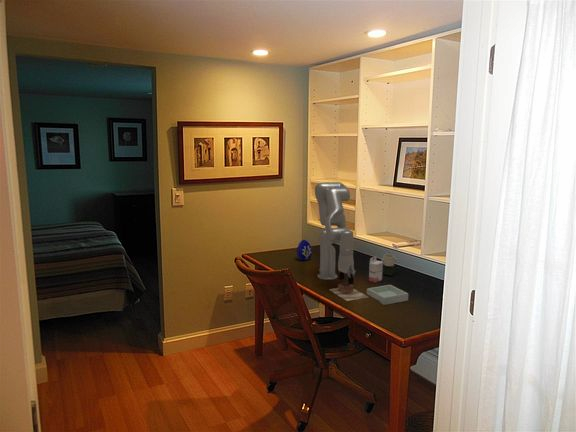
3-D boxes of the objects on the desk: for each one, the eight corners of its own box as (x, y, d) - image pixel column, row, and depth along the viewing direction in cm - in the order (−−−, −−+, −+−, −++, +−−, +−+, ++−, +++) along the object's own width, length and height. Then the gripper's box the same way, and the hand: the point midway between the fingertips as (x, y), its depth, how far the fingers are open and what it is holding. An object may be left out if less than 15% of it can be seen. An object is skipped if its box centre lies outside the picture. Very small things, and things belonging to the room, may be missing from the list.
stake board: (328, 291, 261) (328, 280, 260) (349, 287, 266) (349, 277, 265) (346, 302, 243) (347, 291, 242) (368, 298, 248) (369, 287, 247)
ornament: (300, 262, 319) (300, 241, 316) (294, 259, 327) (294, 239, 324) (313, 260, 324) (314, 240, 322) (307, 257, 332) (307, 237, 329)
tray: (366, 295, 254) (366, 288, 253) (390, 291, 260) (390, 284, 259) (383, 305, 239) (384, 297, 239) (408, 300, 246) (408, 293, 245)
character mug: (393, 272, 296) (393, 253, 293) (398, 275, 289) (399, 256, 287) (378, 274, 292) (378, 254, 290) (383, 277, 286) (384, 257, 283)
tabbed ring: (338, 290, 258) (338, 283, 258) (350, 288, 262) (351, 281, 261) (343, 293, 253) (343, 287, 252) (356, 291, 257) (356, 285, 256)
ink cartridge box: (375, 283, 275) (376, 259, 272) (368, 281, 278) (369, 258, 275) (382, 279, 281) (383, 256, 279) (375, 278, 284) (376, 255, 282)
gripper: (332, 249, 259) (332, 278, 262) (348, 256, 243) (348, 286, 246) (344, 248, 262) (343, 277, 265) (360, 254, 246) (360, 285, 249)
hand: (346, 281), depth 255 cm, fingers open, 9 cm apart
